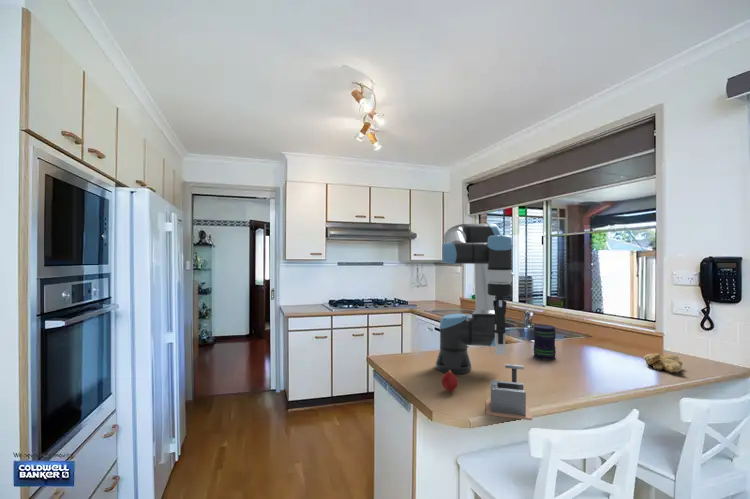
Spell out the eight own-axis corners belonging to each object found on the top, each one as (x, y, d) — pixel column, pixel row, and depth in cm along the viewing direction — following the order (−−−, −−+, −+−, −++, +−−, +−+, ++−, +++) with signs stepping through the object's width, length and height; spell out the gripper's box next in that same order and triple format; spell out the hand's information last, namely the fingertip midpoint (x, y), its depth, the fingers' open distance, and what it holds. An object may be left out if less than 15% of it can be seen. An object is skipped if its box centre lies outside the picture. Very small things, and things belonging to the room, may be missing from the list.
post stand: (505, 395, 128) (505, 365, 128) (505, 393, 130) (504, 363, 130) (523, 397, 126) (523, 367, 126) (523, 394, 128) (523, 364, 129)
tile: (486, 414, 112) (486, 412, 112) (486, 401, 123) (486, 399, 123) (531, 420, 108) (531, 418, 108) (527, 406, 119) (527, 404, 119)
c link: (490, 411, 113) (490, 389, 113) (490, 401, 121) (490, 379, 121) (525, 416, 110) (525, 392, 110) (522, 404, 118) (522, 383, 119)
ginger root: (647, 358, 172) (651, 342, 170) (689, 375, 159) (694, 358, 158) (632, 364, 163) (637, 348, 162) (675, 383, 151) (680, 365, 149)
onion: (439, 389, 133) (439, 367, 133) (455, 389, 134) (455, 367, 134) (443, 395, 127) (443, 372, 128) (460, 395, 128) (460, 372, 128)
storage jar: (554, 361, 171) (554, 329, 172) (531, 357, 177) (531, 326, 177) (557, 356, 180) (556, 325, 180) (535, 353, 185) (535, 323, 186)
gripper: (514, 286, 105) (514, 360, 105) (509, 280, 129) (509, 340, 129) (487, 285, 107) (487, 358, 107) (487, 280, 131) (487, 339, 131)
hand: (499, 348), depth 118 cm, fingers open, 13 cm apart
